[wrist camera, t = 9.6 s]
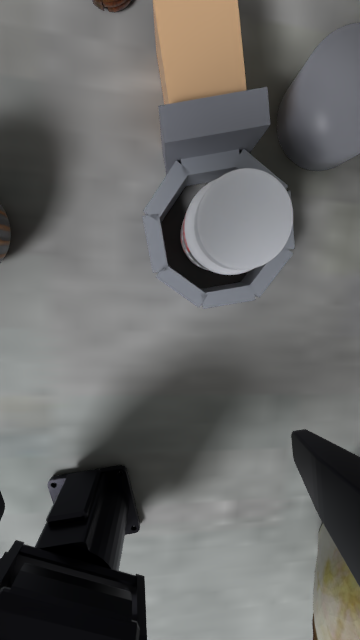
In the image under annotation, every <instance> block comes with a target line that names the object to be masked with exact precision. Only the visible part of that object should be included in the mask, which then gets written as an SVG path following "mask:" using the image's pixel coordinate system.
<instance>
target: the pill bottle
mask: <svg viewBox="0 0 360 640" xmlns="http://www.w3.org/2000/svg"><path fill="white" fill-rule="evenodd" d="M292 225H293V208H292V203H291V200H290V197H289V195H288V193H287V191H286V189H285V188H284V186H283V185H282V184H281V183H280V182H279V181H278V180H277V179H276V178H275V177H273V176H272V175H270V174H269V173H267V172H264V171H262V170H258V169H252V168H243V169H237V170H233V171H231V172H228V173H226V174H224V175H223V176H221V177H219V178H218V179H215V180H213V181H211V182H209V183H208V184H207V185H205V186H204V187H203V188H202V189H201V190H199V192H198V193H197V194H196V195H195V197H194V198H193V199H192V201H191V202H190V205H189V207H188V209H187V212H186V215H185V218H184V220H183V223H182V227H181V233H180V239H181V244H182V248H183V250H184V253H185V254H186V256H187V257H188V259H189V260H190V261H191V262H192V263H193V264H195V265H196V266H198V267H200V268H202V269H205V270H209V271H212V272H215V273H218V274H224V275H236V274H241V273H245V272H247V271H250V270H252V269H254V268H257V267H260V266H262V265H264V264H266V263H268V262H269V261H271V260H272V259H273V258H274V257H276V256H277V255H278V254H279V253H280V251H281V250H282V249H283V248H284V246H285V244H286V243H287V241H288V239H289V236H290V234H291V230H292Z"/></svg>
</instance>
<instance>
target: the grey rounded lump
mask: <svg viewBox="0 0 360 640" xmlns="http://www.w3.org/2000/svg"><path fill="white" fill-rule="evenodd" d="M277 134H278V139H279V142H280V144H281V147H282V149H283V151H284V152H285V154H286V155H287V156H288V158H289V159H290V160H291V161H292V162H294V163H295V164H296V165H298V166H300V167H302V168H304V169H307V170H312V171H324V170H328V169H332V168H334V167H336V166H338V165H340V164H342V163H344V162H345V161H347V160H349V159H351V158H353V157H354V156H356V155H358V154H360V23H353V24H349V25H345V26H343V27H341V28H339V29H337V30H335V31H334V32H332V33H331V34H329V35H328V36H327V37H326V38H324V39H323V40H322V42H321V43H320V44H319V45H318V46H317V47H316V49H315V50H314V51H313V53H312V54H311V56H310V57H309V59H308V60H307V61H306V63H305V64H304V66H303V67H302V69H301V70H300V72H299V73H298V75H297V76H296V78H295V79H294V80H293V82H292V83H291V85H290V86H289V88H288V89H287V91H286V92H285V94H284V96H283V98H282V100H281V103H280V106H279V109H278V114H277Z"/></svg>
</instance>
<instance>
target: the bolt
mask: <svg viewBox="0 0 360 640" xmlns="http://www.w3.org/2000/svg"><path fill="white" fill-rule="evenodd" d="M130 1H131V0H93V4H94V5H95V6H97V7H98V8H99V9H101V10H103V11H104V7H108V10H109V12H117V11H120V10H122V9H124V8H126V7H127V6H128V5H129V3H130Z"/></svg>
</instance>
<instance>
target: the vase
mask: <svg viewBox="0 0 360 640" xmlns="http://www.w3.org/2000/svg"><path fill="white" fill-rule="evenodd" d="M10 239H11V230H10V224H9V220H8V217H7V215H6V212H5V210H4V209H3V207H2V205H1V204H0V263H1V261H2V260H3V259H4V257H5V256H6V254H7V251H8V249H9V245H10Z"/></svg>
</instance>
